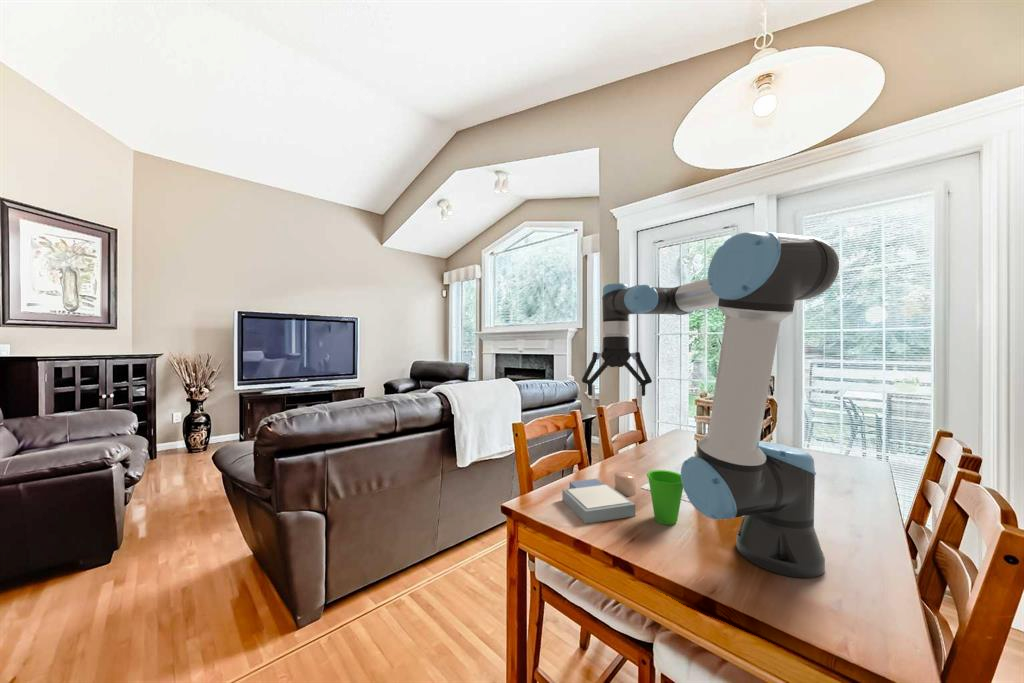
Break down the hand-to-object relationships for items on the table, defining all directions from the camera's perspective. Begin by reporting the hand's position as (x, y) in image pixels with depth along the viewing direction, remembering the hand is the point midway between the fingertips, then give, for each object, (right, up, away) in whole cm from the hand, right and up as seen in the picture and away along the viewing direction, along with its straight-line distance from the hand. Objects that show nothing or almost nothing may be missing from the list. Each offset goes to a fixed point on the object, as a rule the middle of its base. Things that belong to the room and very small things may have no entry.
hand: (616, 406), depth 116 cm
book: (-9, -25, -1) cm, 27 cm away
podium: (-9, -25, -13) cm, 29 cm away
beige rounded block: (+2, -25, -2) cm, 25 cm away
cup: (+7, -25, -20) cm, 33 cm away
